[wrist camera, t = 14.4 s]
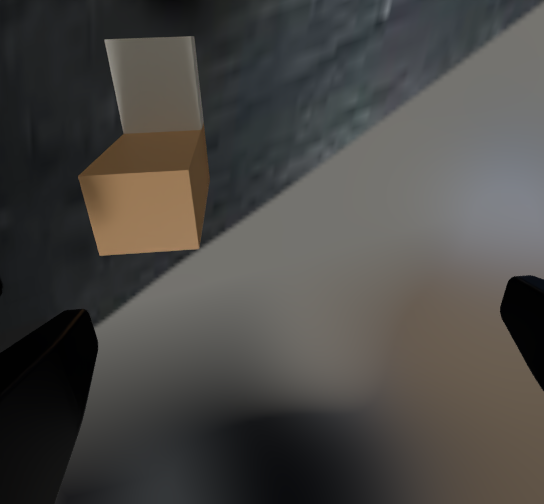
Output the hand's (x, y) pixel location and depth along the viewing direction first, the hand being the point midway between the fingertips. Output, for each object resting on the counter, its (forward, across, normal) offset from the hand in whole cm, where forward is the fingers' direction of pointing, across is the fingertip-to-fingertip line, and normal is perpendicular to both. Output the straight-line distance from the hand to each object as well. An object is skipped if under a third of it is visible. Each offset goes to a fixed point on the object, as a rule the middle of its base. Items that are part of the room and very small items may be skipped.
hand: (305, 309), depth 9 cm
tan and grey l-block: (+7, +3, -3) cm, 9 cm away
